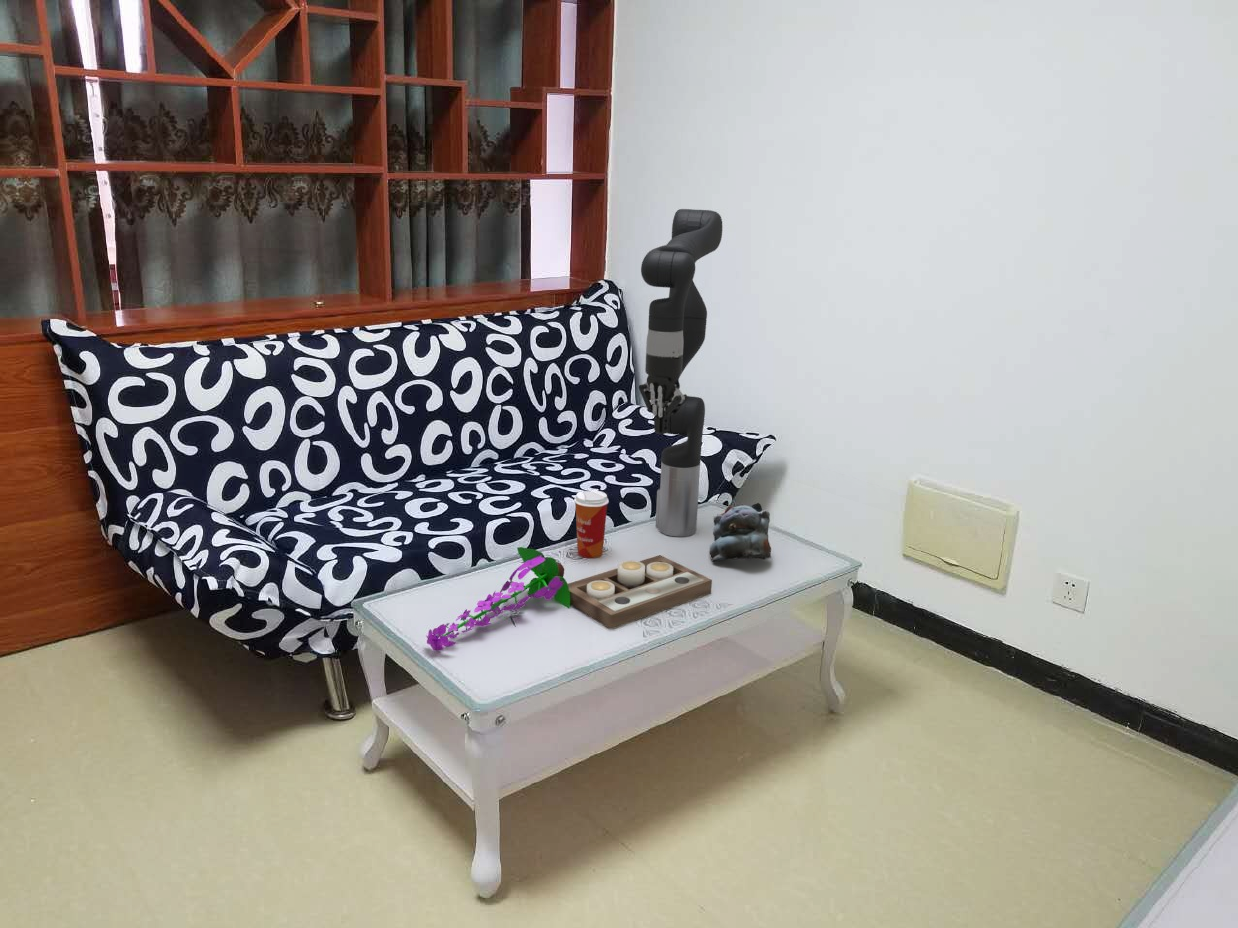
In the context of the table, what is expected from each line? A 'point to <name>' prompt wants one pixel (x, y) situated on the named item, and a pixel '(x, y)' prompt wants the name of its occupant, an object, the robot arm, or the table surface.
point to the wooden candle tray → (639, 594)
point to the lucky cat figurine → (741, 533)
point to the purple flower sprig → (543, 586)
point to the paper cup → (590, 522)
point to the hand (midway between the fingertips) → (660, 433)
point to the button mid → (631, 572)
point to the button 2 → (659, 570)
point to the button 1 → (600, 589)
